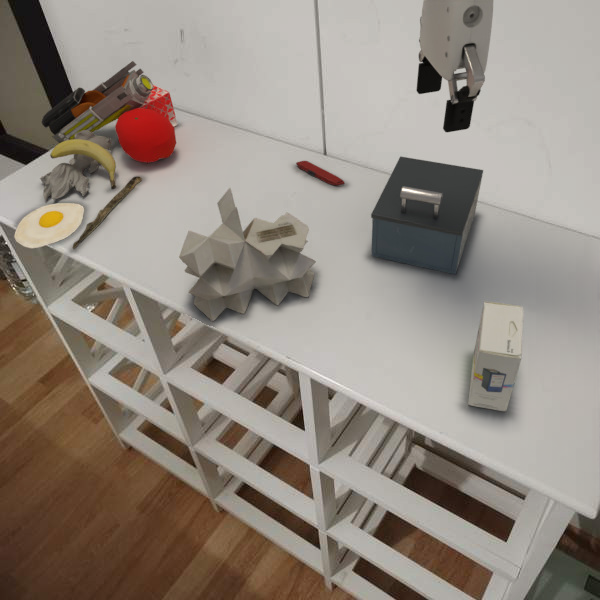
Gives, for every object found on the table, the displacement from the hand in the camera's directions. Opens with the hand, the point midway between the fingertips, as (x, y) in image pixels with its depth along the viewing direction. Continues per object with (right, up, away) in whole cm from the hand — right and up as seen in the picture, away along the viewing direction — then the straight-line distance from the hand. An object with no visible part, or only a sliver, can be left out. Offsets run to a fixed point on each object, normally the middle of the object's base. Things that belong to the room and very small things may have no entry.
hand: (441, 109), depth 73 cm
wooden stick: (-55, -8, +37) cm, 67 cm away
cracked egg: (-66, -10, +36) cm, 75 cm away
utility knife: (-13, +1, +40) cm, 42 cm away
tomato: (-51, +13, +41) cm, 66 cm away
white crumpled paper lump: (-25, -23, +13) cm, 36 cm away
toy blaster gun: (-61, +13, +45) cm, 77 cm away
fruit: (-61, +3, +42) cm, 74 cm away
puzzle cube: (-55, +20, +56) cm, 81 cm away
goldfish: (-60, 0, +46) cm, 76 cm away
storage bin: (+3, -13, +26) cm, 29 cm away
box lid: (+3, -7, +19) cm, 21 cm away
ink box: (+7, -36, +5) cm, 37 cm away
